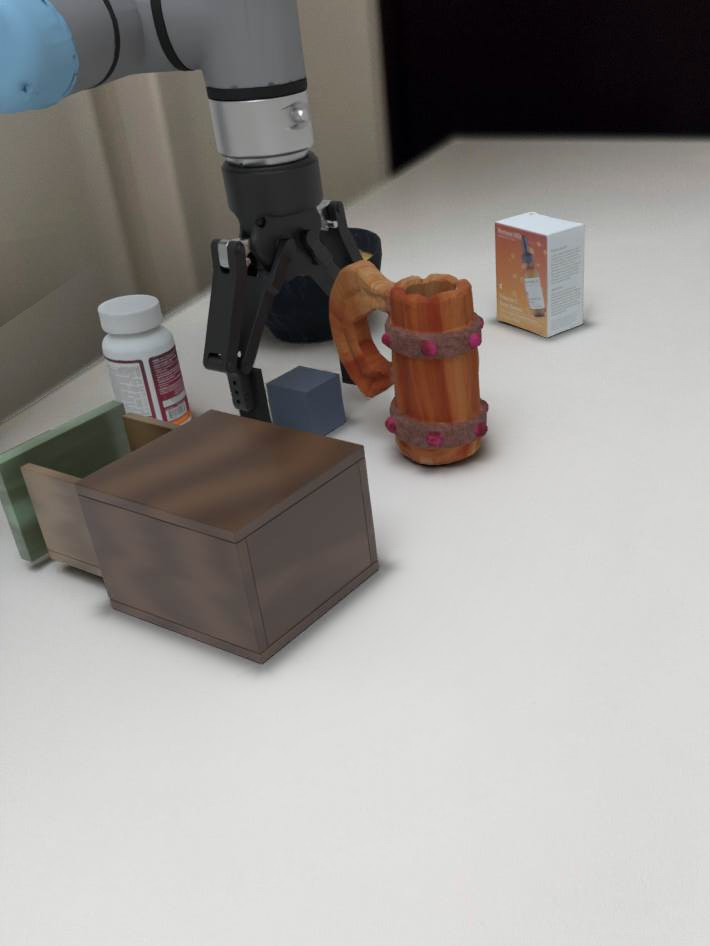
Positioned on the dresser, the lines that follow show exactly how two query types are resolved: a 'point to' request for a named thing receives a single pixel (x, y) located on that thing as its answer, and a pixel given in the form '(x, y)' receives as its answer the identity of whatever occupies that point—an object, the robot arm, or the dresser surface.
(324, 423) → the block
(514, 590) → the dresser surface
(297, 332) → the bowl
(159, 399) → the pill bottle
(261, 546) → the cabinet
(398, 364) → the mug
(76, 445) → the drawer
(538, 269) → the small box
